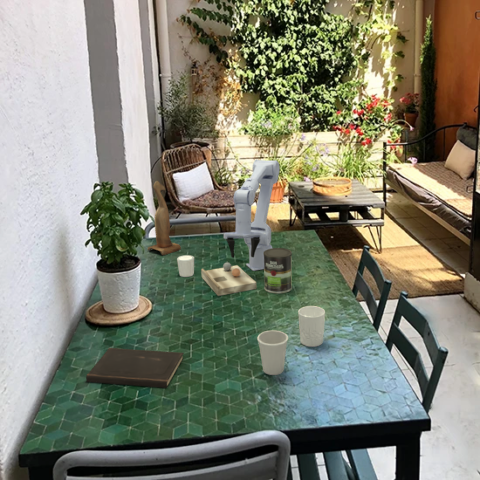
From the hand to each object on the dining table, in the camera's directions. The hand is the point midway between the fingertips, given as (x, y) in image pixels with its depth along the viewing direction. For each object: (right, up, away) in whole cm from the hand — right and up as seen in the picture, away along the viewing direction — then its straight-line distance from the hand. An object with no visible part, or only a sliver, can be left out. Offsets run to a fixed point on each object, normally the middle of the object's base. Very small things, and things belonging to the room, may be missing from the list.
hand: (242, 257), depth 221 cm
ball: (-2, -6, +1) cm, 6 cm away
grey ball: (-6, -4, +7) cm, 10 cm away
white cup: (+21, -24, -45) cm, 55 cm away
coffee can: (+13, -12, -5) cm, 18 cm away
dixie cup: (+8, -30, -59) cm, 67 cm away
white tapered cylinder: (-22, -7, +12) cm, 27 cm away
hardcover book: (-30, -31, -56) cm, 71 cm away
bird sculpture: (-35, +2, +41) cm, 54 cm away
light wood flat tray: (-5, -10, +2) cm, 11 cm away
